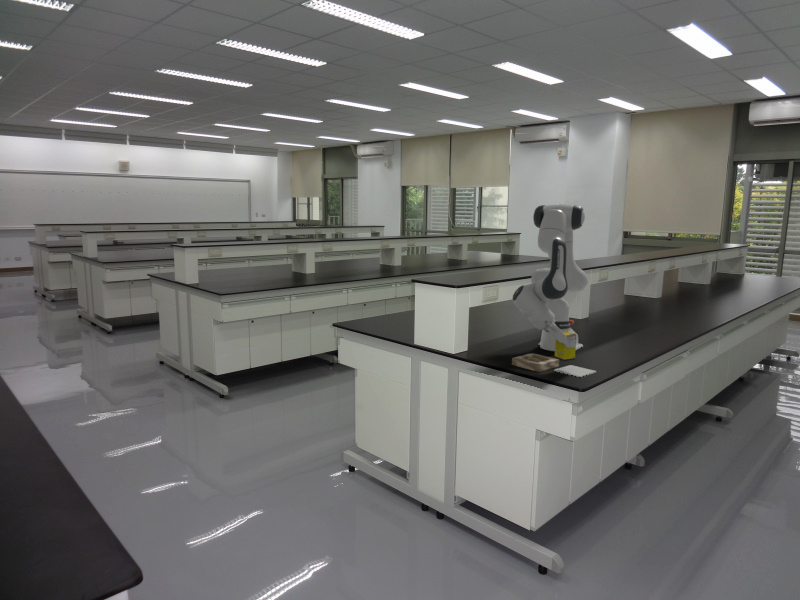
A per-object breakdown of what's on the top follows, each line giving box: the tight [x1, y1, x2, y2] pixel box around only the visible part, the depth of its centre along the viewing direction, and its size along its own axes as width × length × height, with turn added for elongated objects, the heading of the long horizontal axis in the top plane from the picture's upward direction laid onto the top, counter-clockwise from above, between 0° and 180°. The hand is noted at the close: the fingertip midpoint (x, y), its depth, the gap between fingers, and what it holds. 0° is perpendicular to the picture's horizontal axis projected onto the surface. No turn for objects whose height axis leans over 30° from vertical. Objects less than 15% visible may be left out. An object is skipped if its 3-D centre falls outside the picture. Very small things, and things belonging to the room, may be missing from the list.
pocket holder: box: [511, 352, 560, 373], centre depth 228 cm, size 14×14×3 cm
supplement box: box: [554, 331, 577, 362], centre depth 218 cm, size 6×6×11 cm
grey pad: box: [553, 364, 597, 378], centre depth 219 cm, size 12×12×1 cm
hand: (567, 343), depth 218 cm, fingers closed on supplement box, 8 cm apart
